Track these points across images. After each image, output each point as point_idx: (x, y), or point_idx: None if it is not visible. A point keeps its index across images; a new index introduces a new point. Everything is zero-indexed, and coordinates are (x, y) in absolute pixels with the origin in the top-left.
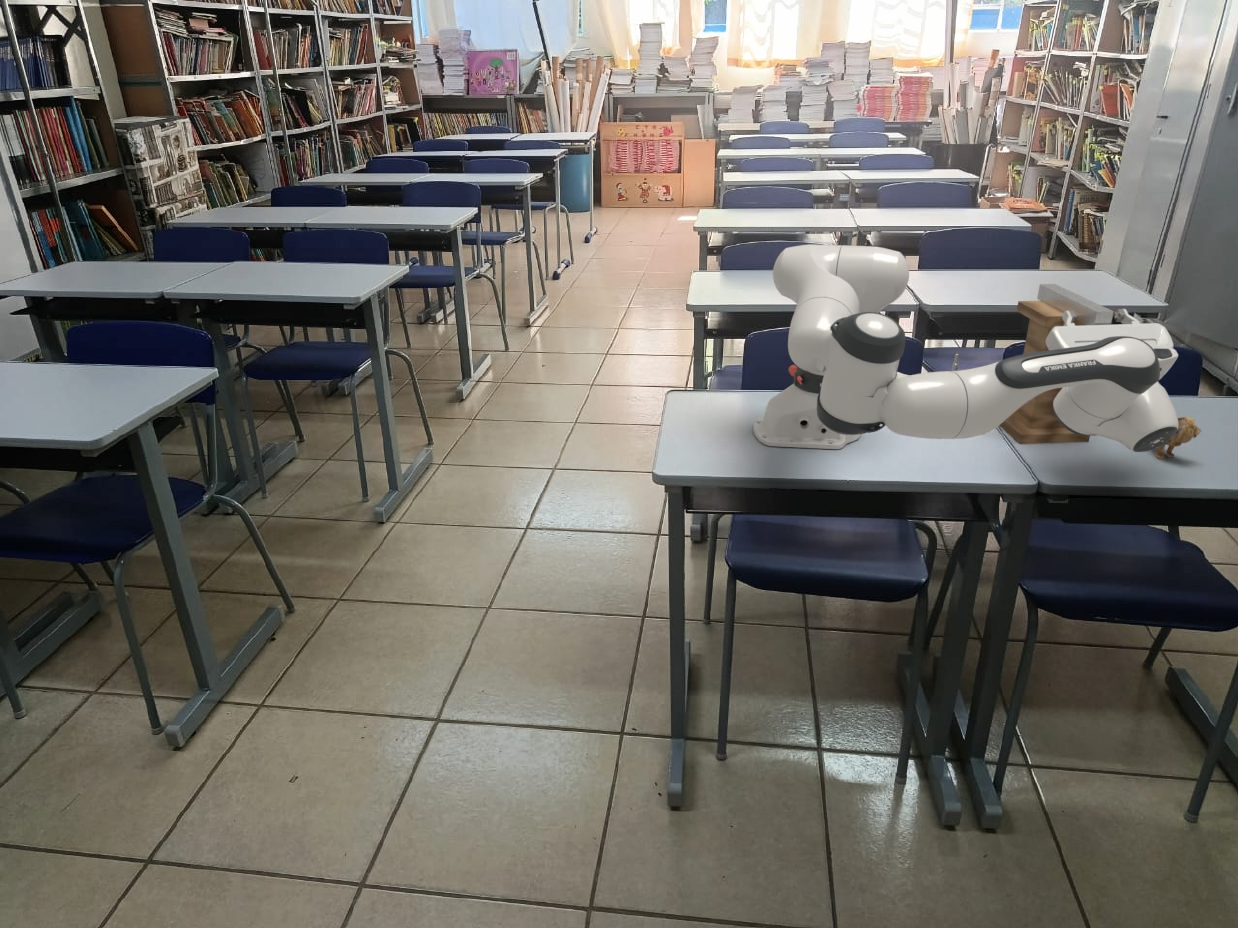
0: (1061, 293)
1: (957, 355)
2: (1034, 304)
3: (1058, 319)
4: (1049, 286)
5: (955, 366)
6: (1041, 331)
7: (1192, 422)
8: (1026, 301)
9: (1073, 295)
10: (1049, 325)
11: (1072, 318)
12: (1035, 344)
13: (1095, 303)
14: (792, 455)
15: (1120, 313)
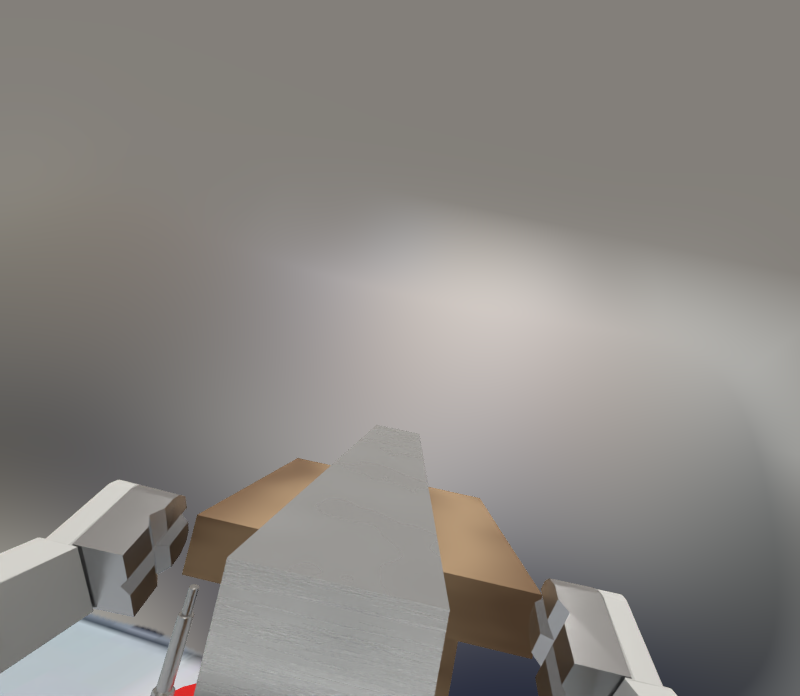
0: (371, 439)
1: (190, 590)
2: (316, 473)
3: None
4: (388, 430)
5: (178, 623)
6: None
7: None
8: (318, 463)
9: (398, 451)
10: (211, 572)
11: (93, 565)
12: None
13: (422, 492)
14: None
15: (572, 638)
